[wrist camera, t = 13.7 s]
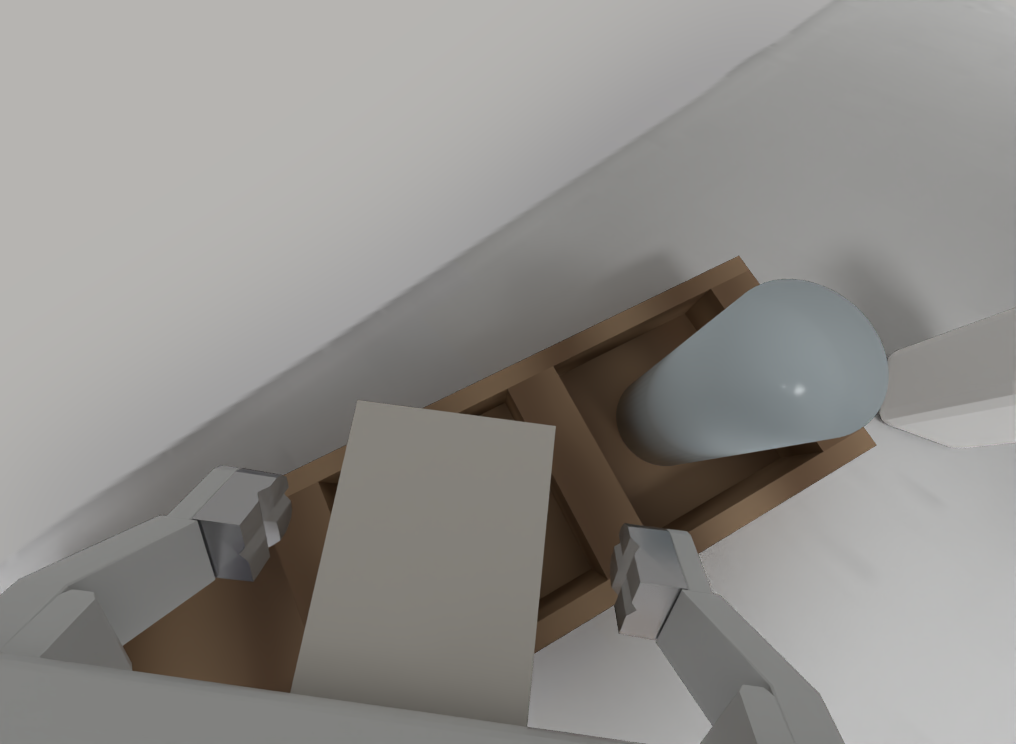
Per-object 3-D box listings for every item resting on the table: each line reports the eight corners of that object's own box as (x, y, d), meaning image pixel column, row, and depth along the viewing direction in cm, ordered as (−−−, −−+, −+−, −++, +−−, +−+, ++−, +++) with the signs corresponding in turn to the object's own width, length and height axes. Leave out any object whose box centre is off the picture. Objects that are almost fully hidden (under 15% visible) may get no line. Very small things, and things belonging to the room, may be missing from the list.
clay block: (517, 468, 18) (555, 425, 8) (502, 599, 17) (522, 771, 6) (434, 457, 18) (357, 400, 8) (411, 587, 17) (279, 740, 6)
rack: (696, 297, 22) (738, 255, 19) (803, 455, 20) (876, 445, 16) (74, 603, 17) (-43, 632, 14) (132, 852, 15) (13, 970, 12)
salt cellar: (674, 360, 20) (817, 255, 11) (725, 439, 19) (923, 390, 10) (599, 400, 19) (689, 320, 10) (648, 483, 18) (790, 470, 10)
